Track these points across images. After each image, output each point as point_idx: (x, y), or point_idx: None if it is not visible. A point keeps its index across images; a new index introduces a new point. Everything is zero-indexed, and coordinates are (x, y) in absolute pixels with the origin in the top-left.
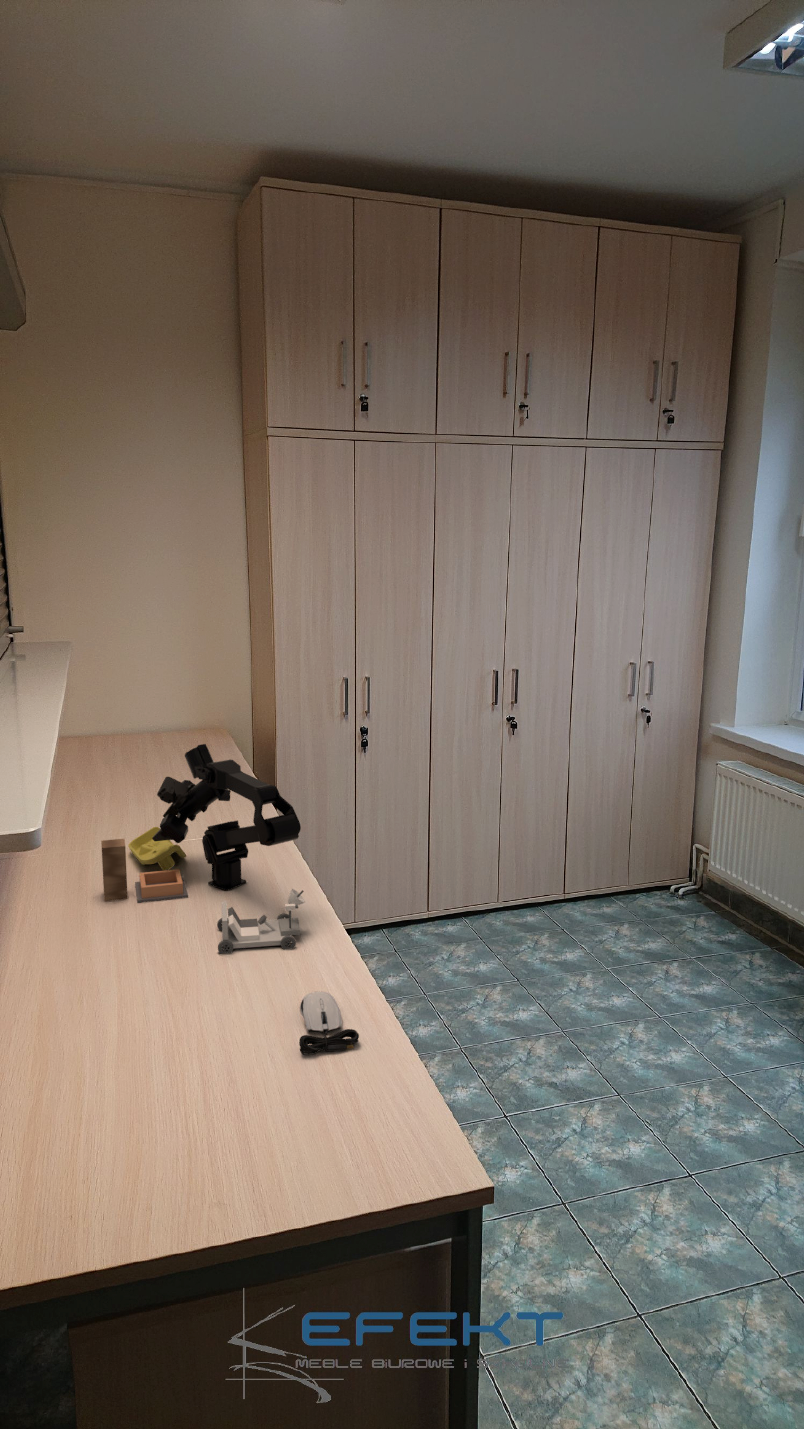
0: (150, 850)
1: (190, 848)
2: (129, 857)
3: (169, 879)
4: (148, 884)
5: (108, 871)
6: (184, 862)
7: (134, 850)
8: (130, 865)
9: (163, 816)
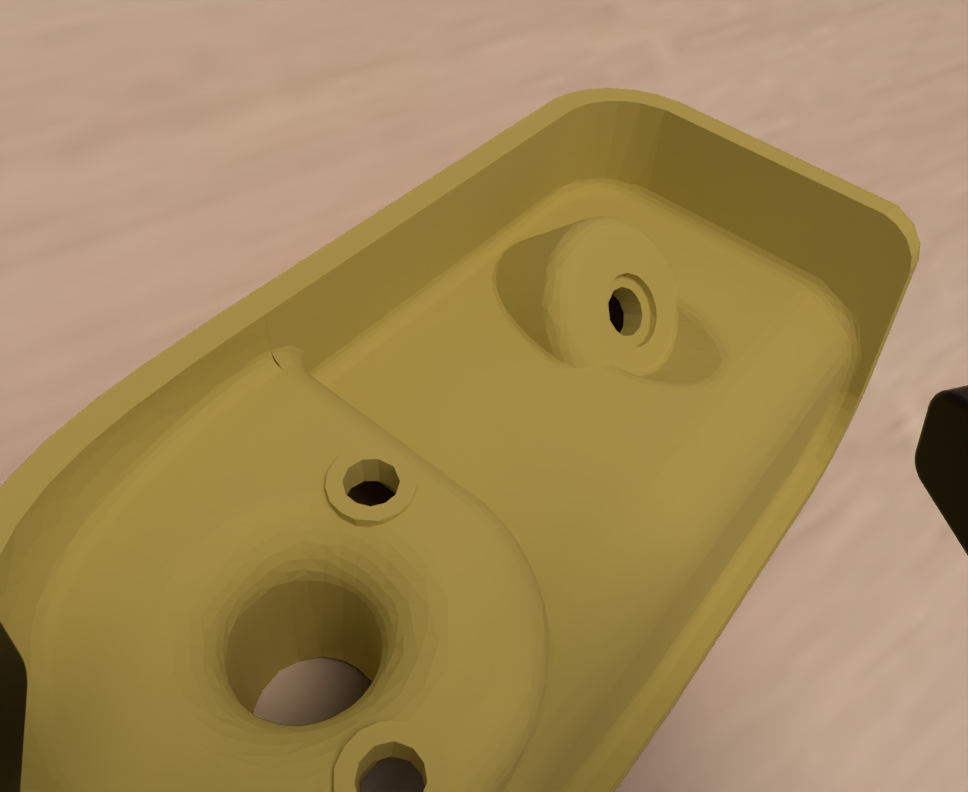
0: (547, 347)
1: (855, 626)
2: None
3: None
4: None
5: None
6: None
7: (431, 198)
8: (285, 254)
9: (934, 409)
